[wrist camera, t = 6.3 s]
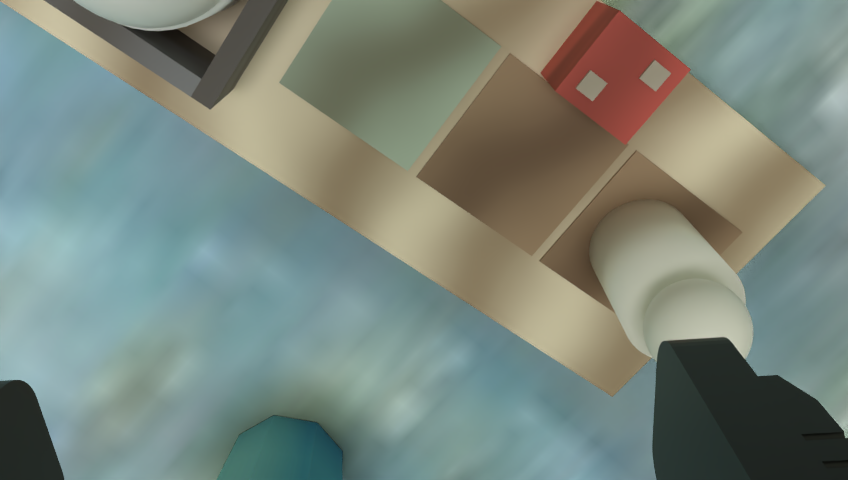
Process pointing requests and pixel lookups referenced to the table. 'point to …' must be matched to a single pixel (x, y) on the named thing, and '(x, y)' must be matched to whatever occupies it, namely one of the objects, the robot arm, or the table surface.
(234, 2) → the pale round cylinder
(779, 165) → the board
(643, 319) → the pawn
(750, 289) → the table surface
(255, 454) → the cup
